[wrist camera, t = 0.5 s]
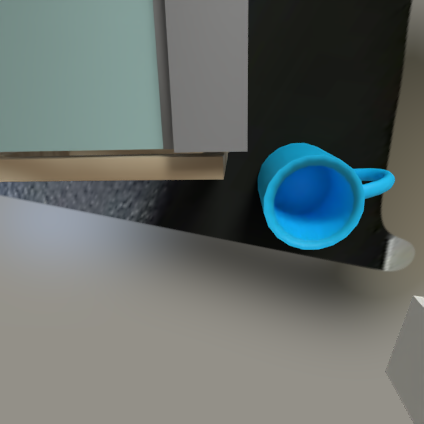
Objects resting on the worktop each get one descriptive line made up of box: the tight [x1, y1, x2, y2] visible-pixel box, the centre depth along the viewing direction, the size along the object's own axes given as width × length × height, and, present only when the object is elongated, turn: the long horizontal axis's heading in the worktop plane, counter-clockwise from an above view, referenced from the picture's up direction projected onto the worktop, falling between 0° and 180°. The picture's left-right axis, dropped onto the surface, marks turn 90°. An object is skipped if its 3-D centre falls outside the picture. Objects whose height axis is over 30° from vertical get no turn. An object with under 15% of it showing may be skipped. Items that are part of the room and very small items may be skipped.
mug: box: [258, 143, 395, 250], centre depth 31 cm, size 12×8×8 cm
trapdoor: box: [0, 0, 248, 153], centre depth 21 cm, size 12×17×4 cm
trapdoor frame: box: [0, 149, 228, 182], centre depth 26 cm, size 16×18×13 cm
